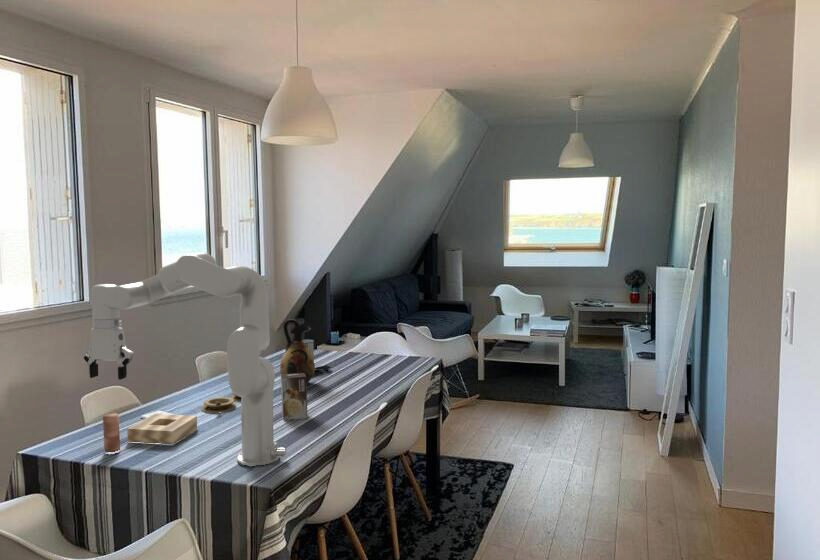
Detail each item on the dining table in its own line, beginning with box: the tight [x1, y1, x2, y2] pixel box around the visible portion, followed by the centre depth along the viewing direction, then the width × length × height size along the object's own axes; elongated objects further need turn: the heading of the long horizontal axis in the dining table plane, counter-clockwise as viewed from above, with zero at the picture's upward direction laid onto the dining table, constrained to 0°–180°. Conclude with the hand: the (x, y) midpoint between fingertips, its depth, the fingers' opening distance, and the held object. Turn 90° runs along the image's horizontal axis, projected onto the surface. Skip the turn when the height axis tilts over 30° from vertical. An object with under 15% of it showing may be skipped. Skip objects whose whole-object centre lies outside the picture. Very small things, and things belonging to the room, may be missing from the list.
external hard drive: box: [140, 410, 176, 419], centre depth 226 cm, size 2×8×12 cm
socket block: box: [126, 414, 198, 444], centre depth 206 cm, size 16×16×5 cm
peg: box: [102, 412, 121, 452], centre depth 192 cm, size 4×4×12 cm
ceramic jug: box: [279, 318, 316, 387], centre depth 272 cm, size 17×15×30 cm
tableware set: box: [200, 392, 241, 414], centre depth 246 cm, size 30×20×6 cm, turn 154°
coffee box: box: [280, 373, 308, 421], centre depth 227 cm, size 9×6×16 cm
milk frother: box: [302, 339, 331, 371], centre depth 299 cm, size 14×16×15 cm
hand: (108, 377), depth 190 cm, fingers open, 9 cm apart
